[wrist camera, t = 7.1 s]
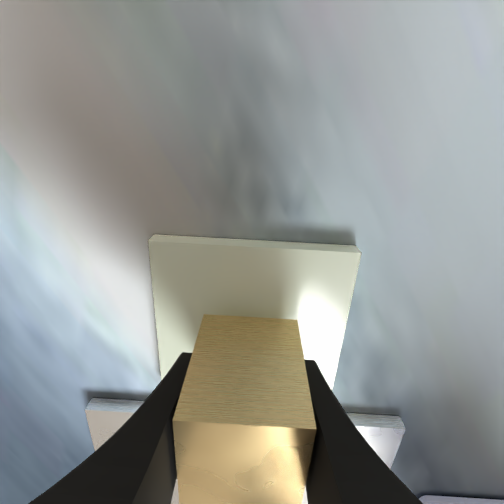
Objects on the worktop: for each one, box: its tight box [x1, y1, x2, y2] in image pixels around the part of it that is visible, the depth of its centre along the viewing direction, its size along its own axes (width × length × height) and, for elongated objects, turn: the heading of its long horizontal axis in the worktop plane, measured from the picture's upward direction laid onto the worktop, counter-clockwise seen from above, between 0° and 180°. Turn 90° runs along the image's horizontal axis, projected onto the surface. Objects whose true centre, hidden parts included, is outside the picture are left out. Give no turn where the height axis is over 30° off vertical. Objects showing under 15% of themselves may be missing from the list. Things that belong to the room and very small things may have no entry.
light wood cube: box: [173, 314, 316, 504], centre depth 12 cm, size 4×4×5 cm
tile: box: [148, 234, 361, 390], centre depth 15 cm, size 9×9×1 cm
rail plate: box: [85, 398, 406, 504], centre depth 20 cm, size 18×10×1 cm, turn 87°
